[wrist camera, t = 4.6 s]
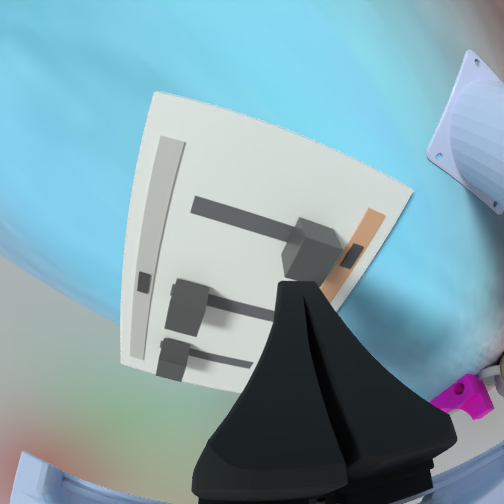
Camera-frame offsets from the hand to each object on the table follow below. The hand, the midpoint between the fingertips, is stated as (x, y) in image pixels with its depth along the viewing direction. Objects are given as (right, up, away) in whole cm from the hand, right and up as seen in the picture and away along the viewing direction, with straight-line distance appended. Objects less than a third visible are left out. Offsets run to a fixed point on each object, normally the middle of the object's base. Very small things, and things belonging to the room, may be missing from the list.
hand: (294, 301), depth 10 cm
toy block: (+27, -21, +23) cm, 41 cm away
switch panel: (-3, -1, +9) cm, 9 cm away
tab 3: (+1, +2, +5) cm, 5 cm away
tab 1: (-5, -1, +7) cm, 9 cm away
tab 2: (-7, -6, +10) cm, 14 cm away
